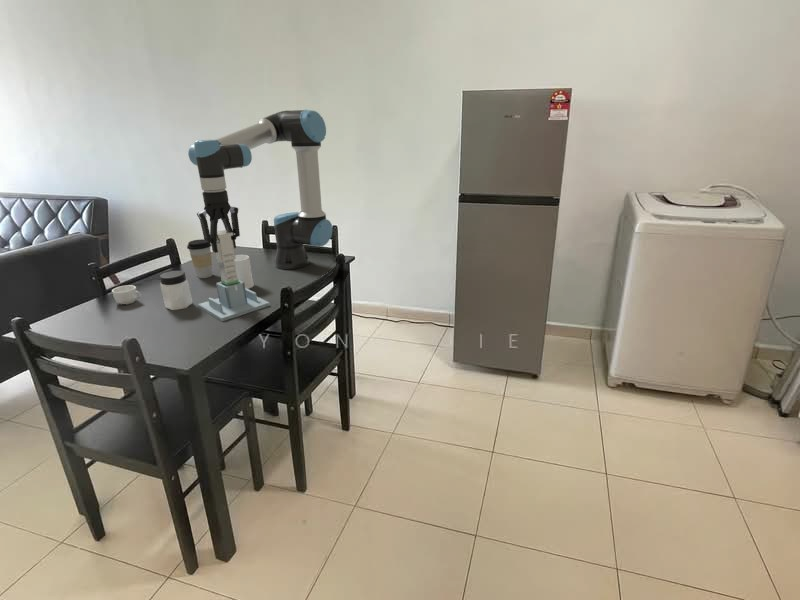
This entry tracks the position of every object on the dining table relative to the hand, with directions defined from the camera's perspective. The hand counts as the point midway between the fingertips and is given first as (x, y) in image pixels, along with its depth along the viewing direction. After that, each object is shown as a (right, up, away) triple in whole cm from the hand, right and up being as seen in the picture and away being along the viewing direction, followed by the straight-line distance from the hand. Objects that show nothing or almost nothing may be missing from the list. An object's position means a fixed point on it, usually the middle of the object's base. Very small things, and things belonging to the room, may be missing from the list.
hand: (226, 259), depth 156 cm
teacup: (-40, -15, +12) cm, 45 cm away
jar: (-20, -16, +8) cm, 27 cm away
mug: (-4, -9, +24) cm, 26 cm away
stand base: (0, -16, +7) cm, 18 cm away
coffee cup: (-24, -4, +38) cm, 45 cm away
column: (0, -9, +4) cm, 10 cm away
